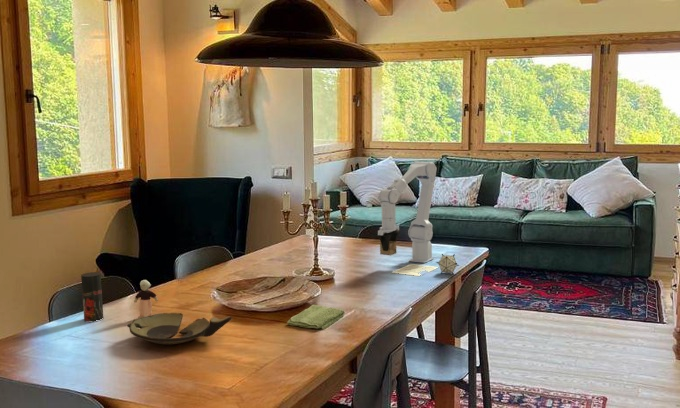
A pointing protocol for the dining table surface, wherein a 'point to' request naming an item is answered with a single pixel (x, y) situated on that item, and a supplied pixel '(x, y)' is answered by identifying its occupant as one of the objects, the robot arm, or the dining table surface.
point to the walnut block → (391, 248)
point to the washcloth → (316, 317)
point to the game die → (447, 264)
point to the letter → (414, 269)
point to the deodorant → (92, 296)
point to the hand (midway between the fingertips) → (388, 249)
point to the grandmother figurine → (145, 299)
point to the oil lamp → (173, 328)
